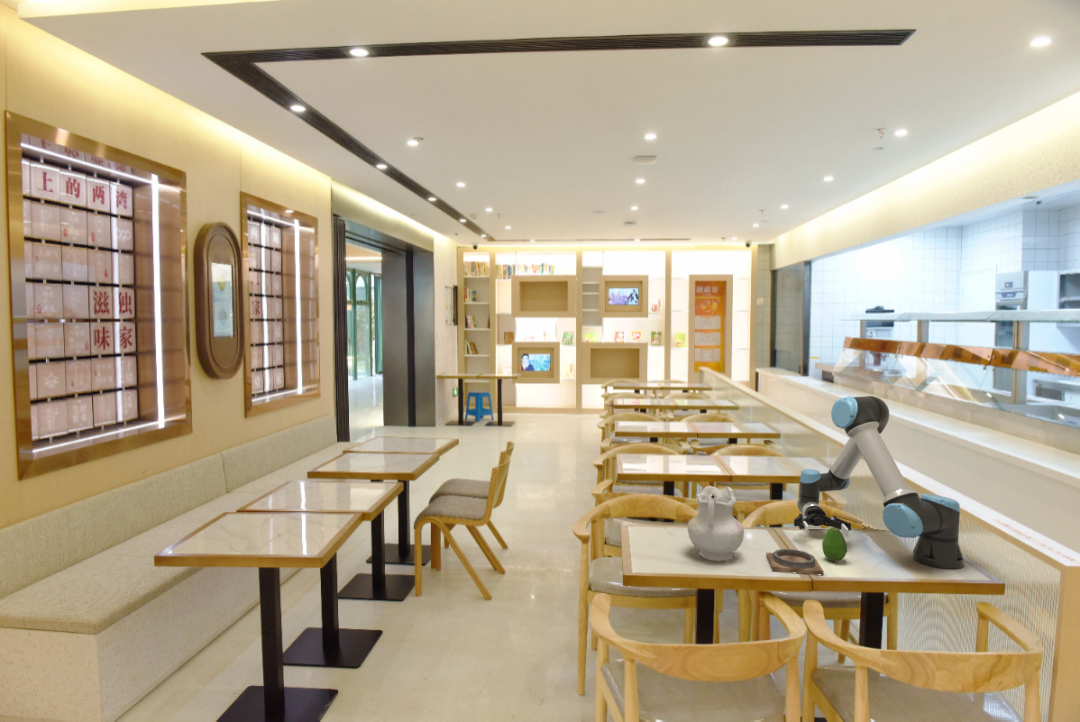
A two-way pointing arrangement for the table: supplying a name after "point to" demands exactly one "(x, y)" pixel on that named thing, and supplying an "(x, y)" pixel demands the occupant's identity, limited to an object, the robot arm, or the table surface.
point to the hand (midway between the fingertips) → (827, 531)
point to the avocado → (834, 545)
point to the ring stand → (793, 562)
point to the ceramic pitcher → (716, 525)
